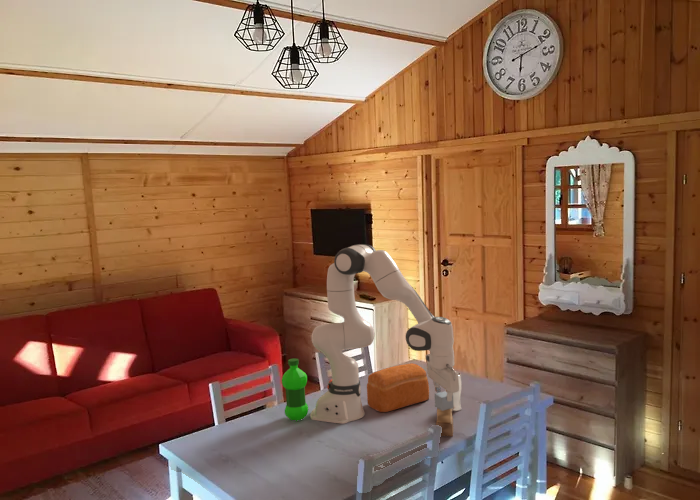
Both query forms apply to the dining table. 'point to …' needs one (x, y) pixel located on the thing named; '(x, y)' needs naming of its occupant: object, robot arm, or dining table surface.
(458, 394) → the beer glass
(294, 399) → the plastic bottle
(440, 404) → the slate block
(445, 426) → the walnut base block
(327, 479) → the dining table surface
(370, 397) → the bread
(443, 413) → the oak block
